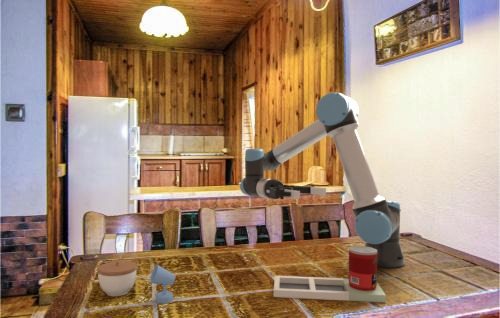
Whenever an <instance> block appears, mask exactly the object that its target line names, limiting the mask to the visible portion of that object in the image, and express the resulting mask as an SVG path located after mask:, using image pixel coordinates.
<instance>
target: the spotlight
mask: <svg viewBox="0 0 500 318" xmlns="http://www.w3.org/2000/svg"><path fill="white" fill-rule="evenodd" d="M175 280H176V274H174V273H172V272H171V271H169V270H167V269H165V268H164V267H162V266H161V265H158V264H156V265H155V266H154V268H153V270H152V272H151V275H150V279H149V283H150V284H157V285H162V291H159V292H157V293H156V294H155V302H156V303H158V304H169V303H172V302H173V300H174V299H173V297H174V295H173V292H172V291H168V290H167V286H173V284H174V283H175Z"/></svg>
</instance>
